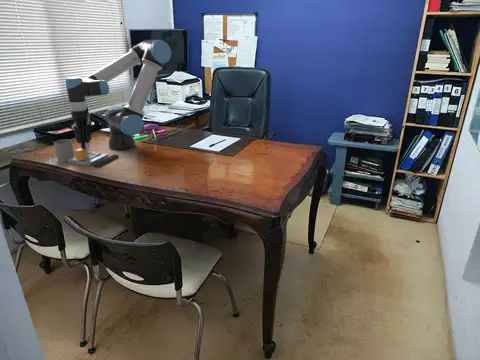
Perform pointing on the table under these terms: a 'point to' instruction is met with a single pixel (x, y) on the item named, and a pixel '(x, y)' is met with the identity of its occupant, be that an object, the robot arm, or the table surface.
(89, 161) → the panel
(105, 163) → the black bar
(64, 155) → the cup
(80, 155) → the tan wooden block
